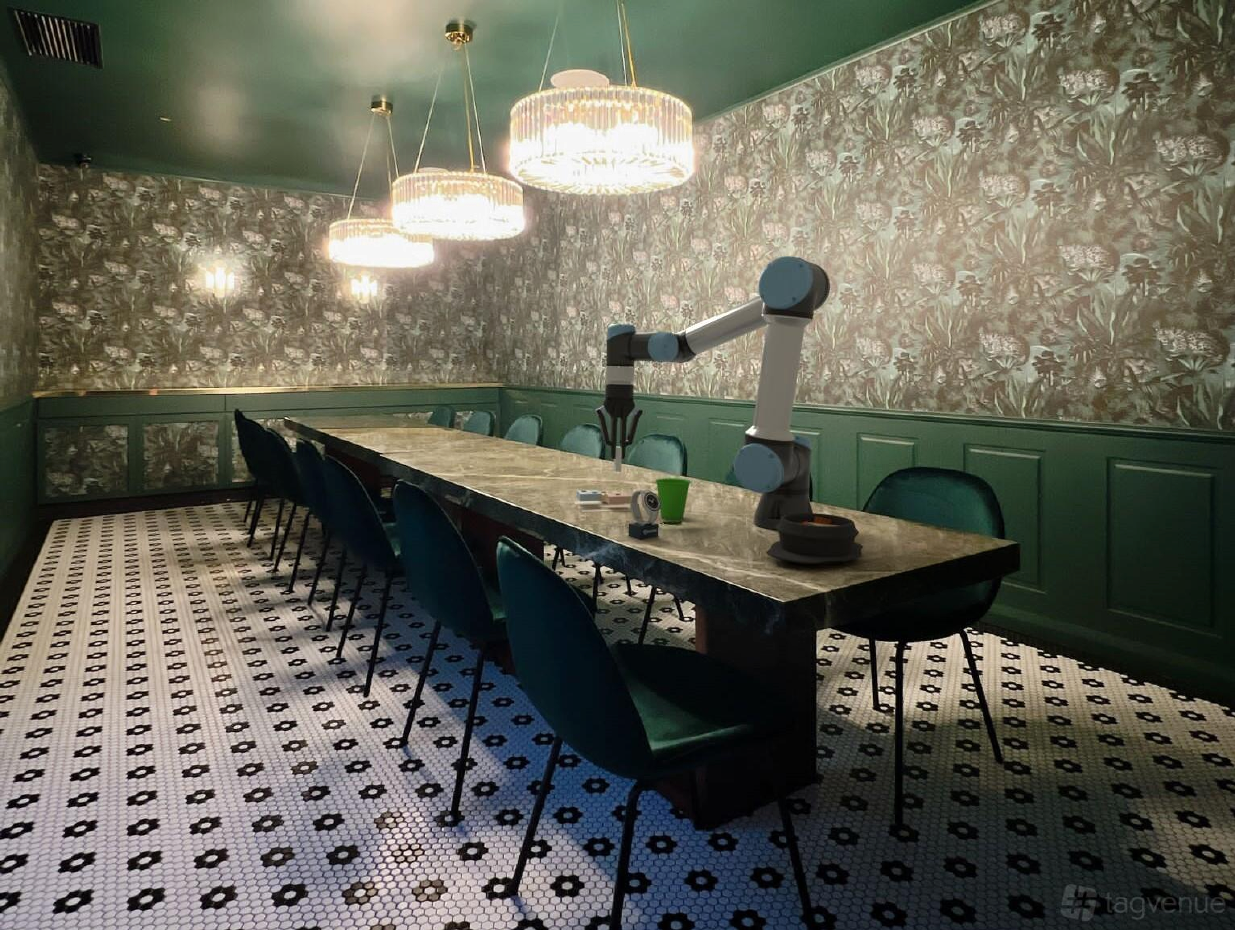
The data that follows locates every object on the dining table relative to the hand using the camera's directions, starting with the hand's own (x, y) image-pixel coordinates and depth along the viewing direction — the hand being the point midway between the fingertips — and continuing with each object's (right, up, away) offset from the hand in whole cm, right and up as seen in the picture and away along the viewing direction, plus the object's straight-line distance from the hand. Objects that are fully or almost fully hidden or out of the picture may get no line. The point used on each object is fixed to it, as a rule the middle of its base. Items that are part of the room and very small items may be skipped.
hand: (617, 470), depth 203 cm
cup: (+14, -13, -11) cm, 22 cm away
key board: (-4, -11, +5) cm, 13 cm away
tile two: (-8, -8, +4) cm, 12 cm away
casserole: (+42, -18, -44) cm, 64 cm away
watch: (+6, -15, -27) cm, 31 cm away
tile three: (-2, -8, +11) cm, 14 cm away
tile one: (0, -8, +1) cm, 9 cm away
